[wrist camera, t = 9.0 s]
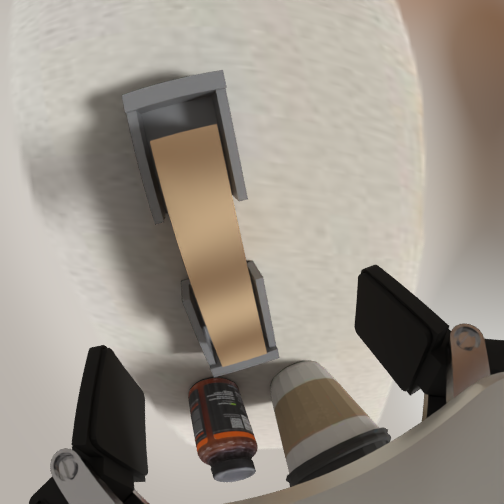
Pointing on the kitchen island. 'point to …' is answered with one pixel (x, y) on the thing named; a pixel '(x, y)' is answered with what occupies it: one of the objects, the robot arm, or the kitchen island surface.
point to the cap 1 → (181, 127)
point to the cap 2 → (204, 336)
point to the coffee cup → (320, 423)
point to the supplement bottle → (222, 429)
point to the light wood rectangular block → (210, 239)
